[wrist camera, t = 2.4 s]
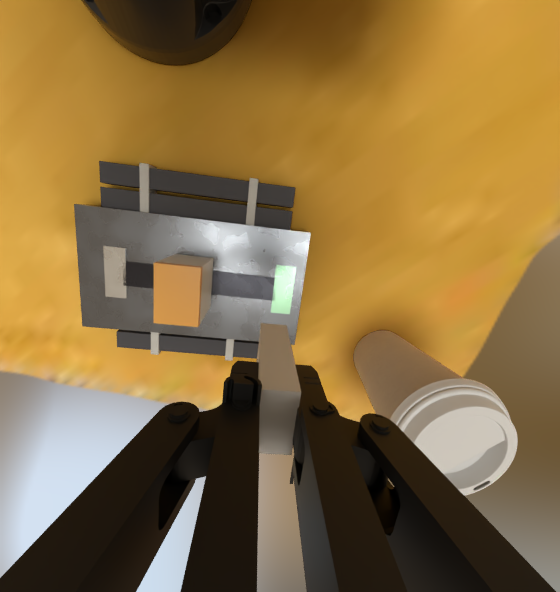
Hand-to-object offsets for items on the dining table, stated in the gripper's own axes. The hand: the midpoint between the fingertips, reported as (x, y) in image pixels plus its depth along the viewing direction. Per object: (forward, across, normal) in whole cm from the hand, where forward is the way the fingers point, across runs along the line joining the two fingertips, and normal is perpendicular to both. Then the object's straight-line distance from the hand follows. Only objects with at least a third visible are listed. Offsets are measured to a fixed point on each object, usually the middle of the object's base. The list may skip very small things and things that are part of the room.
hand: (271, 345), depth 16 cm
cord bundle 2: (+15, -8, -7) cm, 19 cm away
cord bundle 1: (+15, -8, +8) cm, 19 cm away
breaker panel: (+15, -8, 0) cm, 17 cm away
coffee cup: (+16, +14, -7) cm, 22 cm away
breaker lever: (+13, -8, 0) cm, 15 cm away
